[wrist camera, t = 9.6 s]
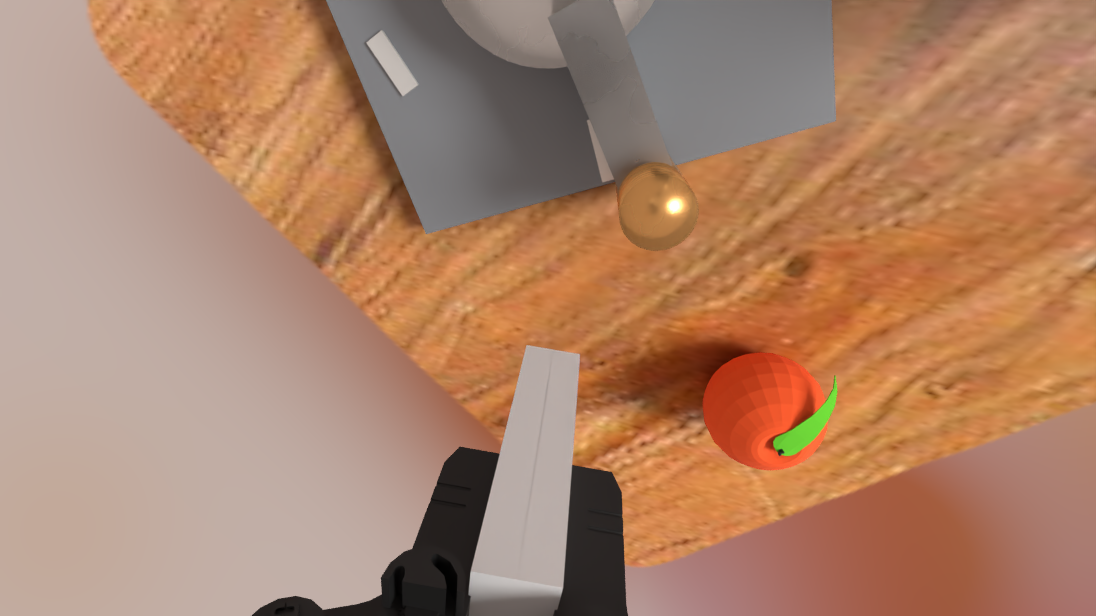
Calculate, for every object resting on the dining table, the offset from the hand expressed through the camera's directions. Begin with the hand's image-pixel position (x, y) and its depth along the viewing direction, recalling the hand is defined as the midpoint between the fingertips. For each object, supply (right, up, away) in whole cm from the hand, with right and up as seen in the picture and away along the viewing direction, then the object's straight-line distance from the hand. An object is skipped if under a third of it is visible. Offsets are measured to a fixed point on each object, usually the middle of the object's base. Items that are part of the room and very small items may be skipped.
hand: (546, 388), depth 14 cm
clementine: (+14, -2, +18) cm, 23 cm away
